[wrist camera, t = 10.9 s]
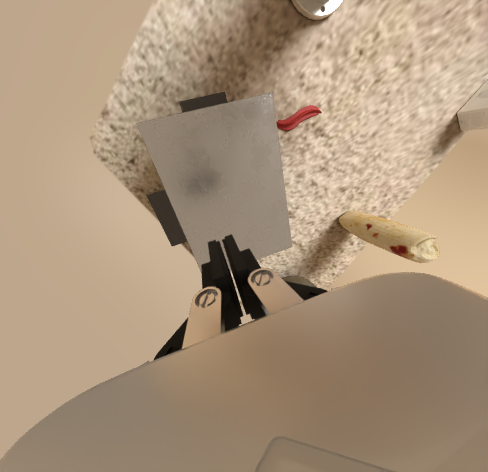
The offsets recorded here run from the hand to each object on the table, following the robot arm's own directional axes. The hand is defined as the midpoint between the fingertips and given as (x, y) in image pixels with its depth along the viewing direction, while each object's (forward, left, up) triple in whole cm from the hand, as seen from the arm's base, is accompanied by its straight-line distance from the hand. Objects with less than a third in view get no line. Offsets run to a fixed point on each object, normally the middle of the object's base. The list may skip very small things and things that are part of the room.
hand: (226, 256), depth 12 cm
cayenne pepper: (-9, +23, -29) cm, 38 cm away
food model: (+19, +37, -29) cm, 50 cm away
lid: (0, +2, -16) cm, 17 cm away
